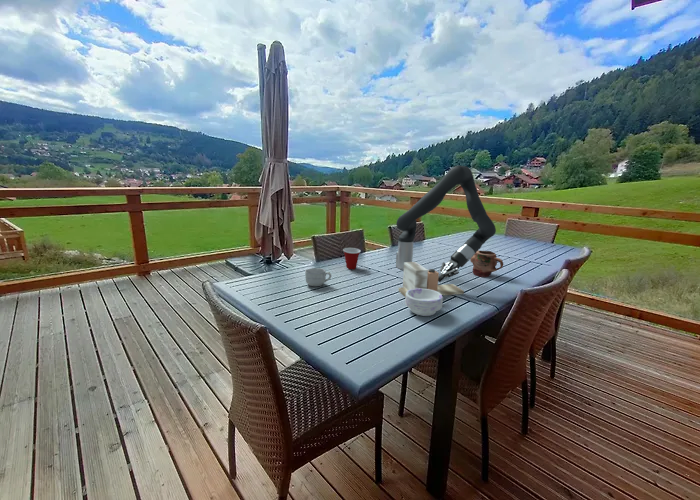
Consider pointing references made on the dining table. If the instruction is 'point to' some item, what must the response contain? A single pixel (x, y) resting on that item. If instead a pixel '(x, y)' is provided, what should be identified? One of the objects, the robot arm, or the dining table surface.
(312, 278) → the teacup
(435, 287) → the tan small carton
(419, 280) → the press housing
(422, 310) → the white bowl
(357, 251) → the plastic cup
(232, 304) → the dining table surface
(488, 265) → the brown ceramic mug
